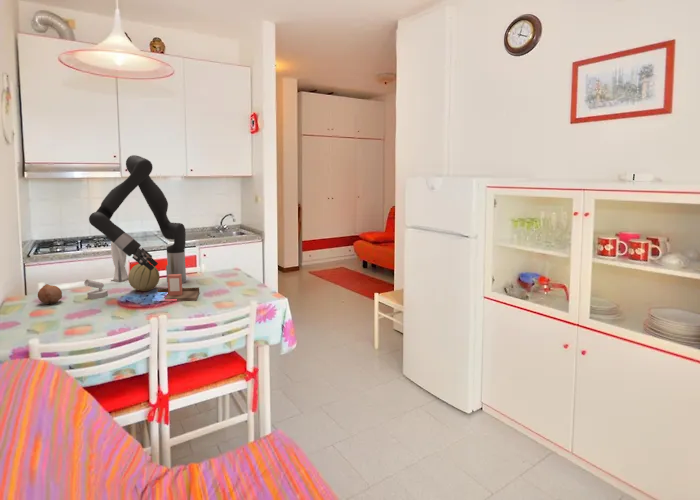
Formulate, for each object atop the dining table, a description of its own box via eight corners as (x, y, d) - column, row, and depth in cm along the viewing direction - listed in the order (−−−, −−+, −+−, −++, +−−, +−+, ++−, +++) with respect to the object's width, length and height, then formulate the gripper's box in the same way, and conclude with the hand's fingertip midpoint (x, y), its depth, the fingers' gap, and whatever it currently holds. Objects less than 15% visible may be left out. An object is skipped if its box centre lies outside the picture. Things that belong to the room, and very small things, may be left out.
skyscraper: (109, 280, 249) (104, 231, 244) (121, 277, 256) (117, 229, 251) (120, 282, 246) (116, 232, 241) (132, 279, 253) (128, 230, 248)
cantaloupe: (122, 292, 227) (120, 263, 225) (145, 285, 241) (143, 258, 238) (144, 296, 222) (142, 266, 219) (166, 288, 235) (165, 261, 233)
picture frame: (168, 295, 218) (167, 275, 216) (169, 293, 221) (168, 274, 219) (181, 295, 219) (180, 275, 217) (182, 293, 222) (181, 273, 221)
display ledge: (152, 302, 212) (151, 296, 212) (157, 294, 225) (157, 288, 224) (196, 300, 216) (195, 294, 216) (199, 293, 229) (199, 287, 228)
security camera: (79, 278, 215) (98, 274, 224) (81, 297, 217) (100, 292, 226) (91, 281, 212) (110, 276, 221) (92, 300, 214) (111, 295, 222)
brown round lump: (45, 308, 210) (39, 288, 210) (67, 301, 213) (60, 281, 213) (38, 307, 201) (31, 286, 201) (60, 299, 204) (54, 279, 204)
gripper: (129, 241, 204) (157, 264, 209) (136, 236, 218) (163, 258, 223) (117, 252, 204) (145, 276, 209) (125, 247, 218) (152, 269, 223)
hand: (154, 267), depth 216 cm, fingers open, 8 cm apart
